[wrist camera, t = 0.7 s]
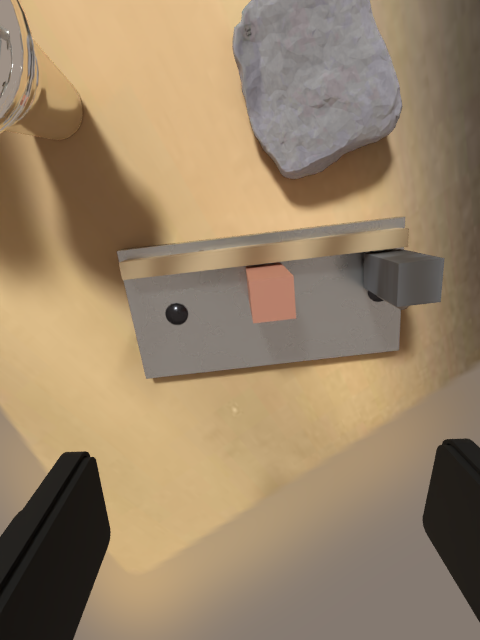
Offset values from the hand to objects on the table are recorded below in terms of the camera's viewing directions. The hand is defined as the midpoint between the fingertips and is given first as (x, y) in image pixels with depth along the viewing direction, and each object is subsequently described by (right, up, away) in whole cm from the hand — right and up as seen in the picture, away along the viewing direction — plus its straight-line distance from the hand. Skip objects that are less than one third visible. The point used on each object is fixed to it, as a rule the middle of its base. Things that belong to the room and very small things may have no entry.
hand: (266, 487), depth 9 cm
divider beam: (+1, +8, +19) cm, 21 cm away
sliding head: (+1, +7, +19) cm, 20 cm away
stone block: (+4, +22, +16) cm, 28 cm away
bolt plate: (+2, +6, +21) cm, 22 cm away
